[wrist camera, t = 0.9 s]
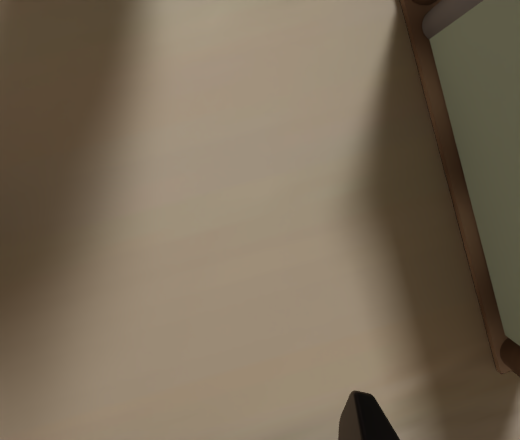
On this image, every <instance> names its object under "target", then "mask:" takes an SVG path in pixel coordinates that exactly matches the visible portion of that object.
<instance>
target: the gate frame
mask: <svg viewBox="0 0 520 440" xmlns="http://www.w3.org/2000/svg"><path fill="white" fill-rule="evenodd" d="M440 1H441V0H400V2H401V6H402V10H403V14H404V17H405V21H406V25H407V29H408V33H409V36H410V40H411V44H412V48H413V52H414V56H415V59H416V63H417V67H418V71H419V75H420V79H421V82H422V86H423V90H424V94H425V98H426V102H427V105H428V109H429V113H430V117H431V121H432V125H433V128H434V132H435V136H436V140H437V144H438V147H439V151H440V155H441V159H442V163H443V167H444V170H445V174H446V178H447V182H448V186H449V190H450V193H451V197H452V201H453V205H454V209H455V213H456V216H457V220H458V224H459V228H460V232H461V235H462V239H463V243H464V247H465V251H466V255H467V258H468V262H469V266H470V270H471V274H472V278H473V281H474V285H475V289H476V293H477V297H478V301H479V304H480V308H481V312H482V316H483V320H484V323H485V327H486V331H487V335H488V339H489V343H490V346H491V350H492V354H493V358H494V362H495V366H496V369H497V371H498V372H500V373H501V374H503V373H507V372H510V371H513V372H515V373H516V374H517V375H518V376H519V377H520V346H519V345H518V344H516V343H515V342H514V341H512V340H511V339H510V338H508V337H507V336H506V335H505V333H504V329H503V325H502V321H501V318H500V314H499V310H498V306H497V302H496V298H495V294H494V290H493V286H492V282H491V278H490V275H489V271H488V267H487V263H486V259H485V255H484V251H483V247H482V243H481V239H480V235H479V232H478V228H477V224H476V220H475V216H474V212H473V208H472V204H471V200H470V196H469V193H468V189H467V185H466V181H465V177H464V173H463V169H462V165H461V161H460V157H459V153H458V150H457V146H456V142H455V138H454V134H453V130H452V126H451V122H450V118H449V114H448V110H447V107H446V103H445V99H444V95H443V91H442V87H441V83H440V79H439V75H438V71H437V67H436V64H435V60H434V56H433V52H432V48H431V44H430V40H429V39H428V38H427V37H426V36H425V34H424V33H423V29H422V22H423V19H424V17H425V15H426V14H427V13H428V12H429V11H430V10H431V9H432V8H433V7H434V6H435V5H437V4H438V3H439V2H440Z"/></svg>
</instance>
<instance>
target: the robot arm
mask: <svg viewBox="0 0 520 440" xmlns="http://www.w3.org/2000/svg"><path fill="white" fill-rule="evenodd" d="M338 440H400V439H399V437H398V436H397V434H396V432H395V431H394V429H393V427H392V426H391V424H390V422H389V421H388V419H387V418H386V416H385V414H384V413H383V411H382V409H381V408H380V406H379V404H378V403H377V401H376V399H375V398H374V397H373V396H372V395H371V394H369V393H364V392H360V391H352V392H351V394H350V396H349V398H348V400H347V403H346V405H345V407H344V410H343V412H342V414H341V418H340V422H339V437H338Z"/></svg>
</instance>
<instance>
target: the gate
mask: <svg viewBox="0 0 520 440" xmlns="http://www.w3.org/2000/svg"><path fill="white" fill-rule="evenodd" d="M422 29H423V33H424V34H425V36H426V37H427V38H428V39H429V40H430V44H431V48H432V52H433V56H434V60H435V64H436V67H437V71H438V75H439V79H440V83H441V87H442V91H443V95H444V99H445V103H446V107H447V110H448V114H449V118H450V122H451V126H452V130H453V134H454V138H455V142H456V146H457V150H458V153H459V157H460V161H461V165H462V169H463V173H464V177H465V181H466V185H467V189H468V193H469V196H470V200H471V204H472V208H473V212H474V216H475V220H476V224H477V228H478V232H479V235H480V239H481V243H482V247H483V251H484V255H485V259H486V263H487V267H488V271H489V275H490V278H491V282H492V286H493V290H494V294H495V298H496V302H497V306H498V310H499V314H500V318H501V321H502V325H503V329H504V333H505V335H506V336H507V337H508V338H510V339H511V340H512V341H514V342H515V343H516V344H518V345H519V346H520V0H441V1H440V2H439V3H438V4H437V5H435V6H434V7H433V8H432V9H431V10H430V11H429V12H428V13H427V14H426V15H425V17H424V19H423V22H422Z"/></svg>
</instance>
